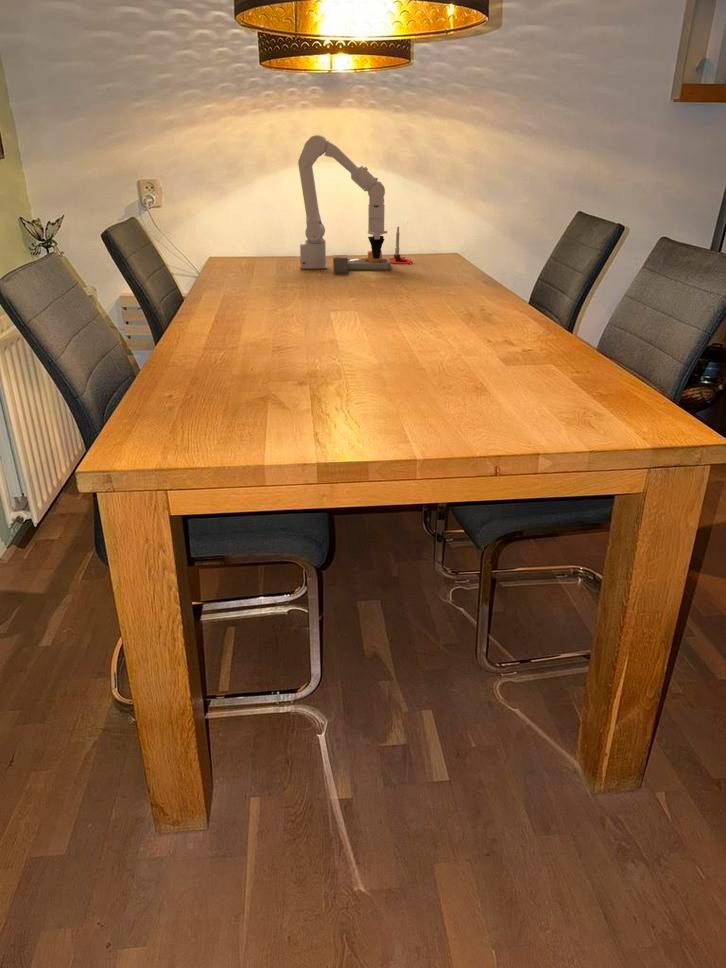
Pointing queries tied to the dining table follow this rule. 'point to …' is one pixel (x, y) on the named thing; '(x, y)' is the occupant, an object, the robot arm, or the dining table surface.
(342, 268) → the block
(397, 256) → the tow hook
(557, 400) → the dining table surface
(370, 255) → the hitch pin
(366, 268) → the tray
